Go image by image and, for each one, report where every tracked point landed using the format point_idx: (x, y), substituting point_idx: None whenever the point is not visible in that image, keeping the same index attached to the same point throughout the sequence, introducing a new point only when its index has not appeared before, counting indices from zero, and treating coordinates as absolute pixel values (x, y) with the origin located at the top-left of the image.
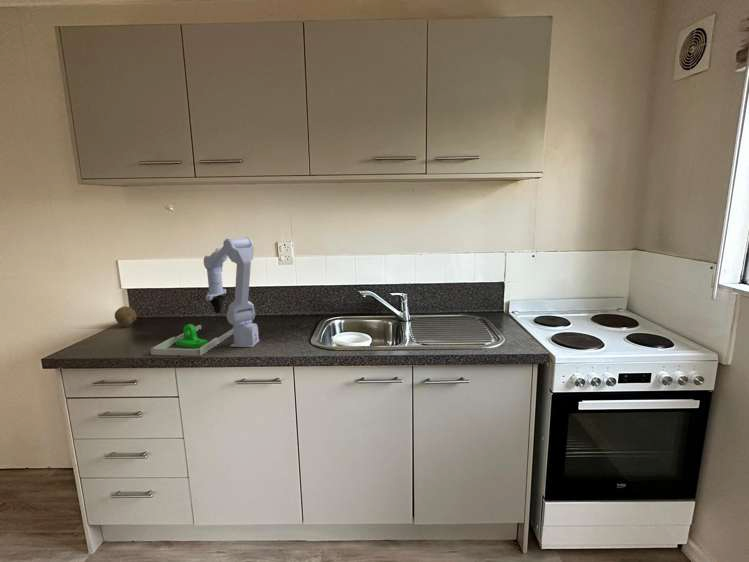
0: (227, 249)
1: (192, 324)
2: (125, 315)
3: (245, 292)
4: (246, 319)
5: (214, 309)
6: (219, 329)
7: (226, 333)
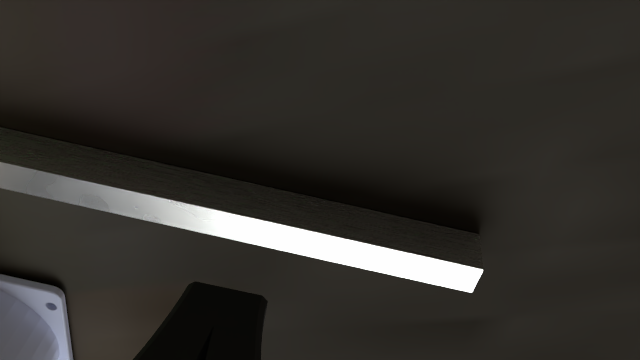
0: None
1: None
2: None
3: None
4: None
5: (148, 350)
6: (553, 5)
7: (134, 208)
